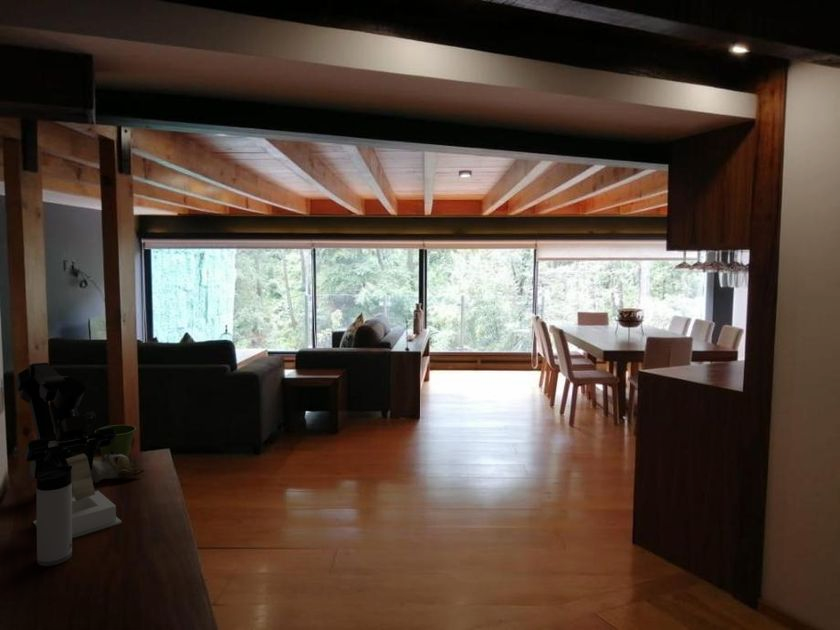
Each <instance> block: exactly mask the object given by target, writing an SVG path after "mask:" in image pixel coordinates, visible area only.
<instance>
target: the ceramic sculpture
mask: <svg viewBox="0 0 840 630" xmlns="http://www.w3.org/2000/svg"><path fill="white" fill-rule="evenodd" d="M136 463H137V462H136V461H132V462H130V459H129V458H127V457H126V456H125V455H123V454H118V455H117V454H114V452H110V453H107V454H106V455H105V456H104V457H103V458H102V457H101V459H98V460H94V459H93V465H92V470H91V471H90V472H91V477H92V481H93V484H98V483H99V482H101V480H117V479H121V478H132V477H136V476H137V475H140V474H142V473H143V472H145V470H144V469H143V470H142V469H138V468H136V467H133V466H134V465H135V464H136Z"/></svg>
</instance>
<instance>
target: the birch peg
mask: <svg viewBox="0 0 840 630" xmlns="http://www.w3.org/2000/svg"><path fill="white" fill-rule="evenodd" d="M66 462H67V465H70V466H72V469H71V475H72V477H71V480H72V497H74V498H75V500H76V501H79V500H81V499H84V498H87V497H90V496H92V495H95V491H96V490H95V487H94V483H93V481H92V477H91V472H90V467H89V462H88V457H87V456H86V455H85V454H84V452H83V453H80V454H76V455H73V457H70V458H67V459H66Z"/></svg>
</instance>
